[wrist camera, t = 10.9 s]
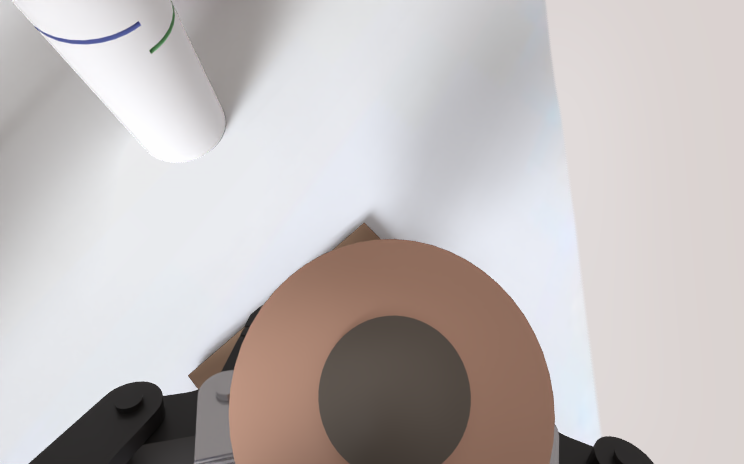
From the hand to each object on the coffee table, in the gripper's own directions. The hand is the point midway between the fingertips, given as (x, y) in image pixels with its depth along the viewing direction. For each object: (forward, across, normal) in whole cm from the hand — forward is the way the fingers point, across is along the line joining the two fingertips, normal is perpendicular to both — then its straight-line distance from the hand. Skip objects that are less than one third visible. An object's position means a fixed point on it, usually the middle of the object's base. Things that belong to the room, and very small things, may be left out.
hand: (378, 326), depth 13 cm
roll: (+3, 0, +5) cm, 6 cm away
